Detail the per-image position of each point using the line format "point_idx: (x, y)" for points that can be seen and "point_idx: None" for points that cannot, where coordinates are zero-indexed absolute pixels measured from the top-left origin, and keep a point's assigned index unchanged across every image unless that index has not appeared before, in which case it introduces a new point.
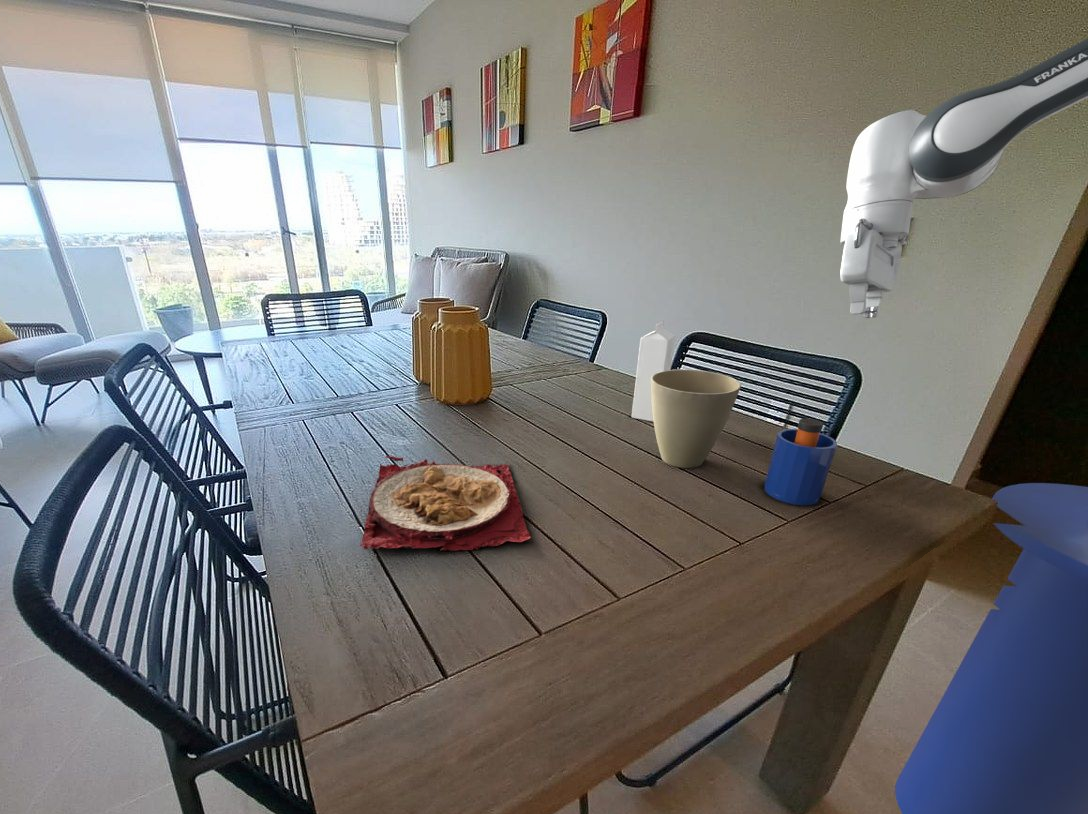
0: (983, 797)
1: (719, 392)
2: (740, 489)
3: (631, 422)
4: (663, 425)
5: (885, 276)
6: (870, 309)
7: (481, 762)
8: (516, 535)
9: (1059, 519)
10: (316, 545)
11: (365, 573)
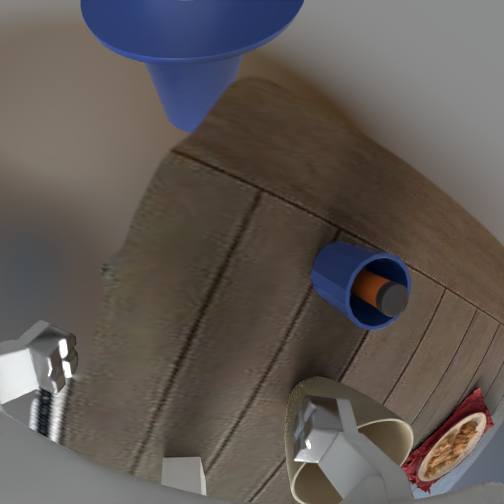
0: None
1: None
2: None
3: (221, 472)
4: (367, 436)
5: (3, 480)
6: (54, 369)
7: None
8: (473, 396)
9: (190, 16)
10: (484, 439)
11: (497, 410)
